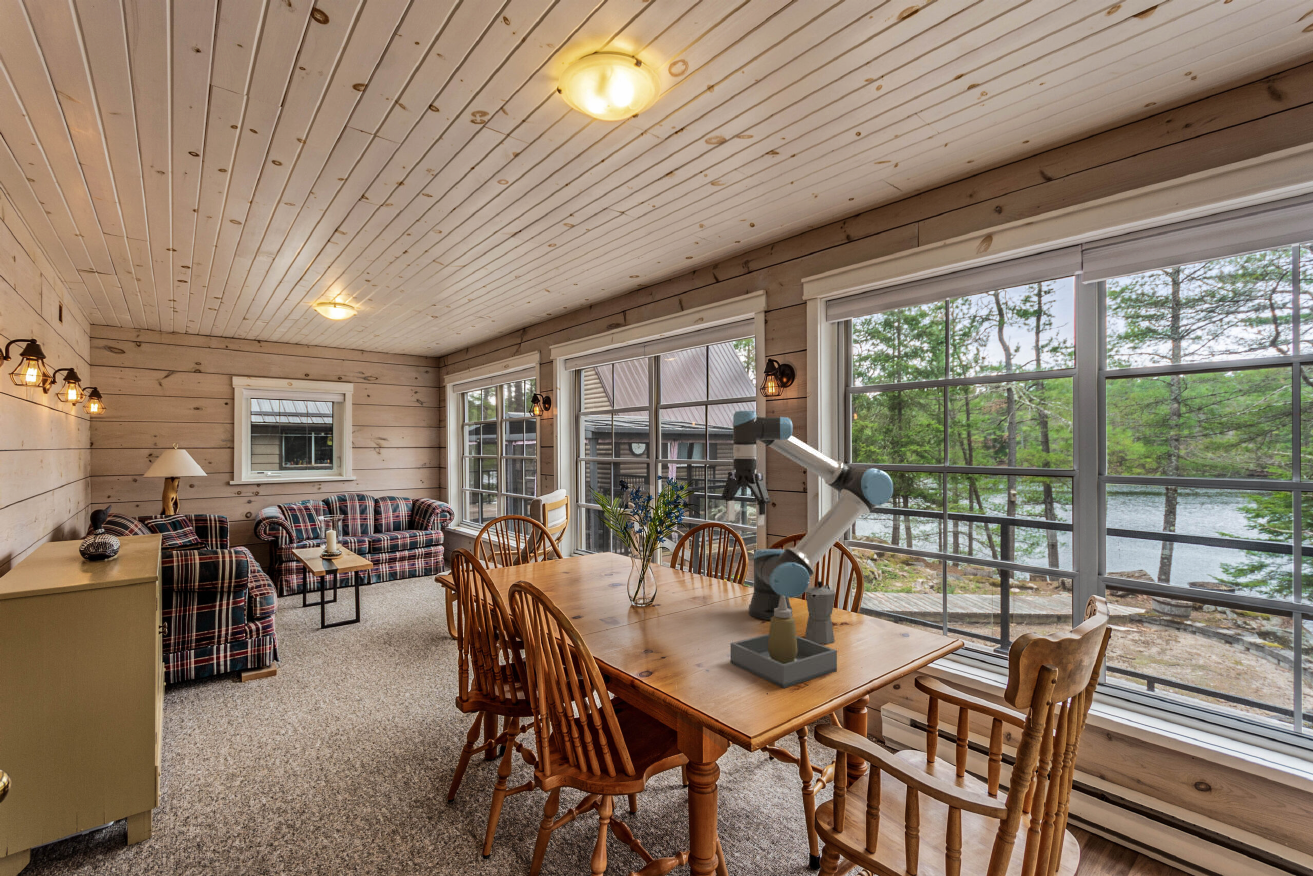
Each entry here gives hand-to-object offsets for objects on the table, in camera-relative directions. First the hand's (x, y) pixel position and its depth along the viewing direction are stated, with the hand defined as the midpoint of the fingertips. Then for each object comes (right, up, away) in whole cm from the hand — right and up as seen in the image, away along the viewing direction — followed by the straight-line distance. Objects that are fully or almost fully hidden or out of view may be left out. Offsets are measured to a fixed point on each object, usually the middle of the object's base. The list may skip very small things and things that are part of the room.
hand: (745, 522), depth 194 cm
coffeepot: (+22, -35, -10) cm, 42 cm away
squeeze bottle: (+5, -34, -33) cm, 48 cm away
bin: (+5, -35, -33) cm, 48 cm away
